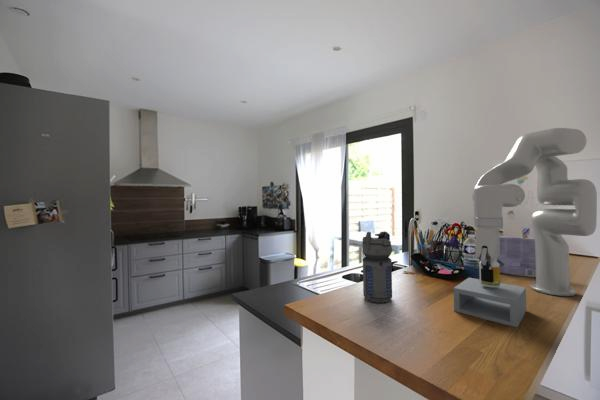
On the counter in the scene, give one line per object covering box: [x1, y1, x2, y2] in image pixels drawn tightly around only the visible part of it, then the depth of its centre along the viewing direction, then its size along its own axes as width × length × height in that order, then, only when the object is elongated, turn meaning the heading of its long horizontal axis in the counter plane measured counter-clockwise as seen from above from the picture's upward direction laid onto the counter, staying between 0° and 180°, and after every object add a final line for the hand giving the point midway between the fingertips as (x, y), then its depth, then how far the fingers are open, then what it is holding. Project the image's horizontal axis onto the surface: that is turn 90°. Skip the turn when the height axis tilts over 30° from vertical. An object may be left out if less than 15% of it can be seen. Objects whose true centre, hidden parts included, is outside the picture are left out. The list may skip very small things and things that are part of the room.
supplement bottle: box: [478, 257, 501, 287], centre depth 86 cm, size 5×5×10 cm
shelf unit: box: [453, 277, 527, 328], centre depth 86 cm, size 16×16×8 cm
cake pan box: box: [497, 235, 536, 278], centre depth 126 cm, size 19×5×18 cm, turn 49°
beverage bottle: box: [361, 231, 393, 304], centre depth 99 cm, size 10×13×25 cm
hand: (489, 278), depth 86 cm, fingers closed on supplement bottle, 5 cm apart
